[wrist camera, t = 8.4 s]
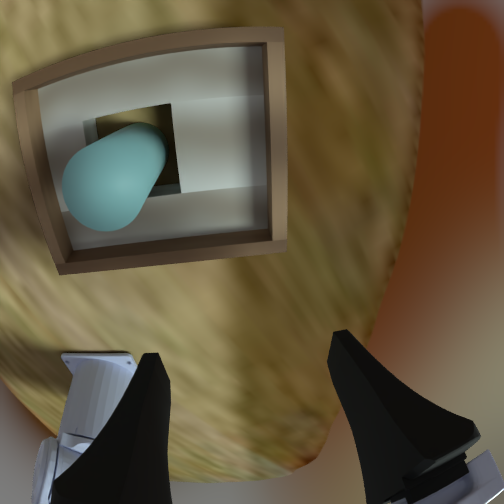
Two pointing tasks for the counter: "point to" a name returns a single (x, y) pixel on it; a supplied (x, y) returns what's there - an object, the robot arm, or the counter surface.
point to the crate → (186, 141)
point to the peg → (114, 176)
